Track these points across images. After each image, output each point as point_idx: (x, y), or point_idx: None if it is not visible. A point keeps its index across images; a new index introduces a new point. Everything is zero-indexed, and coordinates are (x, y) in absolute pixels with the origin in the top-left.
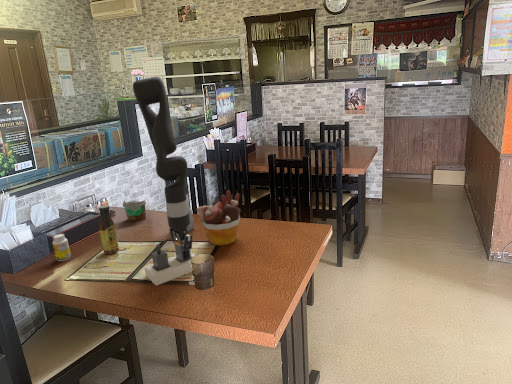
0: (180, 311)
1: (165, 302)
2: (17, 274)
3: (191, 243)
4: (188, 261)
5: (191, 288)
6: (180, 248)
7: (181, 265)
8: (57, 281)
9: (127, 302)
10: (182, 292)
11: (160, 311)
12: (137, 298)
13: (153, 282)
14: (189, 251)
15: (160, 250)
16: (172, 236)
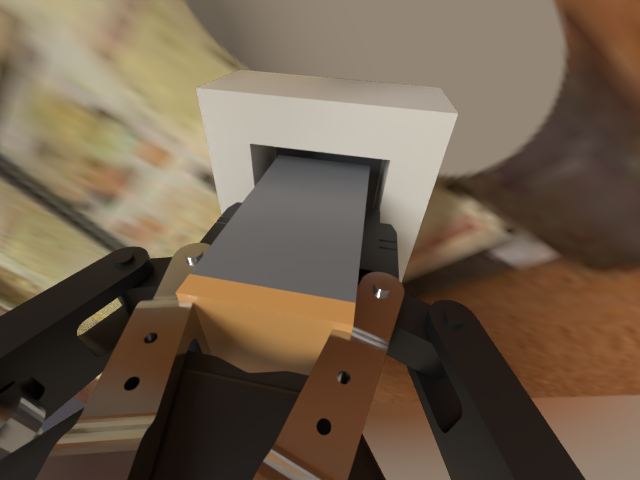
0: (631, 383)
1: (515, 370)
2: (74, 395)
3: (531, 412)
4: (398, 226)
5: (562, 283)
6: None
7: (401, 279)
8: None
9: (388, 395)
10: (536, 317)
11: (541, 396)
12: (394, 381)
13: None
14: (361, 229)
15: None
16: (91, 372)
